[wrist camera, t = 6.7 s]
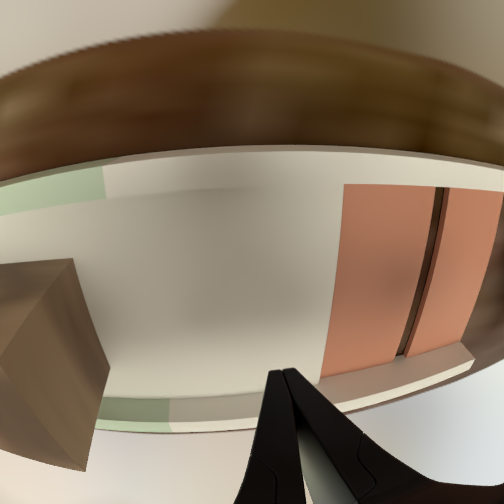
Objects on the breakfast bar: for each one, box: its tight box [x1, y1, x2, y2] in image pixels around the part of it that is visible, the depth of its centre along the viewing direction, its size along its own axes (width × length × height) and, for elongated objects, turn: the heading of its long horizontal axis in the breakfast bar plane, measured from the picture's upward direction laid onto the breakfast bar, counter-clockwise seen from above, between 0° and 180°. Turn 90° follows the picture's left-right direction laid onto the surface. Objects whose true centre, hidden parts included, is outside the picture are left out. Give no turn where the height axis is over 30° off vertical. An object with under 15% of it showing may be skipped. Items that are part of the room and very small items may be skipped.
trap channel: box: [0, 145, 504, 432], centre depth 12 cm, size 30×13×2 cm, turn 91°
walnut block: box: [0, 258, 111, 472], centre depth 9 cm, size 6×6×6 cm
